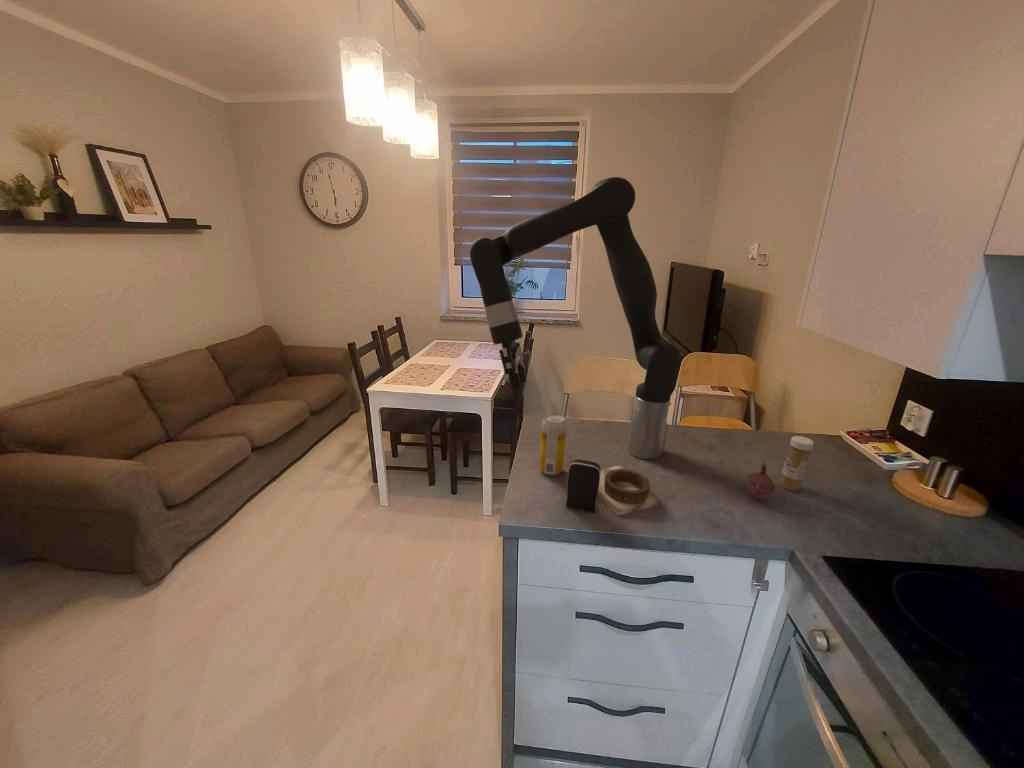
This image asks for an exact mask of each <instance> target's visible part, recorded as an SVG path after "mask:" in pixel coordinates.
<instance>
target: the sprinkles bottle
mask: <svg viewBox="0 0 1024 768" xmlns="http://www.w3.org/2000/svg"><path fill="white" fill-rule="evenodd" d="M814 443H815V442H814V441H813V440H812V439H810V438H808V437H805V436H800V435H793V436H792V437H791V439H790V442H789V445H790V446H789V449H788V452H787V456H786V459H785V461H784V464H783V466H782V467H783V468H782V472H781V475H780V479H779V480H778V484H779V486H780V487H781V488H783V489H785V490H787V491H793V492H797V491H799V490H800V488H801V487H800V486H801V482H802V480H803V478H804V474H805V471H806V468H807V465H808V462H809V457H810V455H811V452H812V450H813V448H814Z"/></svg>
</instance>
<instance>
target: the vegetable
mask: <svg viewBox="0 0 1024 768" xmlns="http://www.w3.org/2000/svg"><path fill="white" fill-rule="evenodd" d="M745 487H746V489H747V490H748V493H750V495H751V497H752V498H753V499H755V500H761V499H767V498H770V497H771V496H772V495H773V494H774V492H775V483H774V481H773V479H772V478H771V477H770V476H768V474H767V463H765V462H764V461H762V462H761V468H760V472H755V473H754V472H753V473H751V474H749V475H748V476H746V479H745Z"/></svg>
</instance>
